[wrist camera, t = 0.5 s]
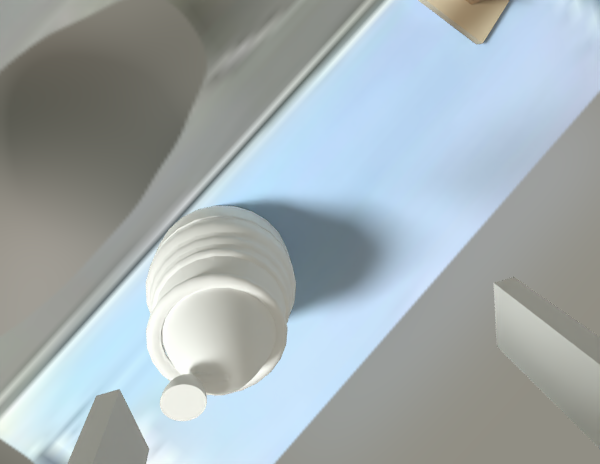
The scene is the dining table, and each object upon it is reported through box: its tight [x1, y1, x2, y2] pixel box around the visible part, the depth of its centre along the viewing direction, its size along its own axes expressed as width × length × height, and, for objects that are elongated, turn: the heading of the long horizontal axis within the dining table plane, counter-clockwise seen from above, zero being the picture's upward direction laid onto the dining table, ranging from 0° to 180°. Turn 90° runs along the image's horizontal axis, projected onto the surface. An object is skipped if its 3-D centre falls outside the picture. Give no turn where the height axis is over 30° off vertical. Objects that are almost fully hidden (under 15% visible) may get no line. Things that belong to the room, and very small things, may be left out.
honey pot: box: [146, 205, 296, 421], centre depth 32 cm, size 13×13×18 cm
